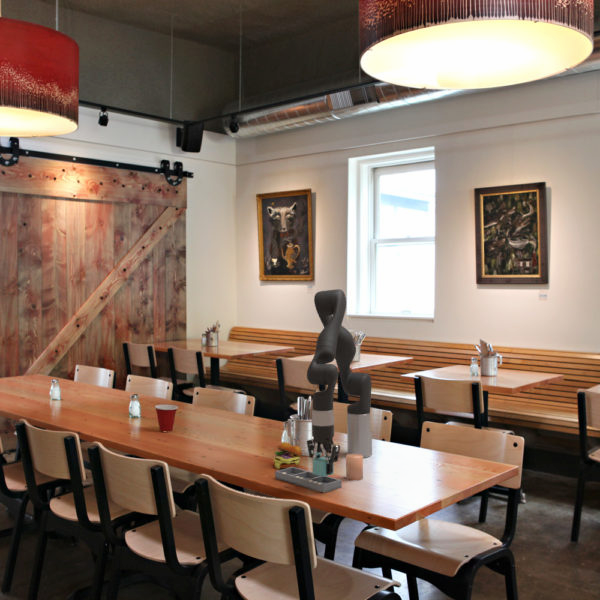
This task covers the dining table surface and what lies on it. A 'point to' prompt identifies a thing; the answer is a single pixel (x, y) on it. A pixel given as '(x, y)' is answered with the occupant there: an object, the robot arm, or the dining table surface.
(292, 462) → the cheeseburger
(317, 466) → the teal block
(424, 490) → the dining table surface
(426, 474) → the dining table surface
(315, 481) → the slot tray
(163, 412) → the plastic cup
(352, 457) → the terracotta jar
